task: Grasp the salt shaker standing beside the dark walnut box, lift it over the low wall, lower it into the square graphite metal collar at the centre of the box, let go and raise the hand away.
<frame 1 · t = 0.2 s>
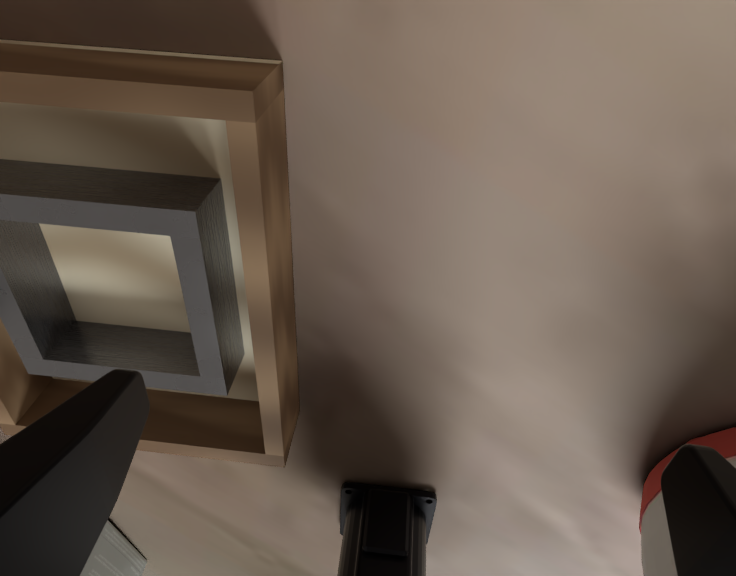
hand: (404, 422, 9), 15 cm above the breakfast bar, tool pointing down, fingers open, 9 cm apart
skincare box: (102, 536, 44), on the breakfast bar
inlet collar: (115, 284, 24), in the walled box
walled box: (135, 261, 26), on the breakfast bar
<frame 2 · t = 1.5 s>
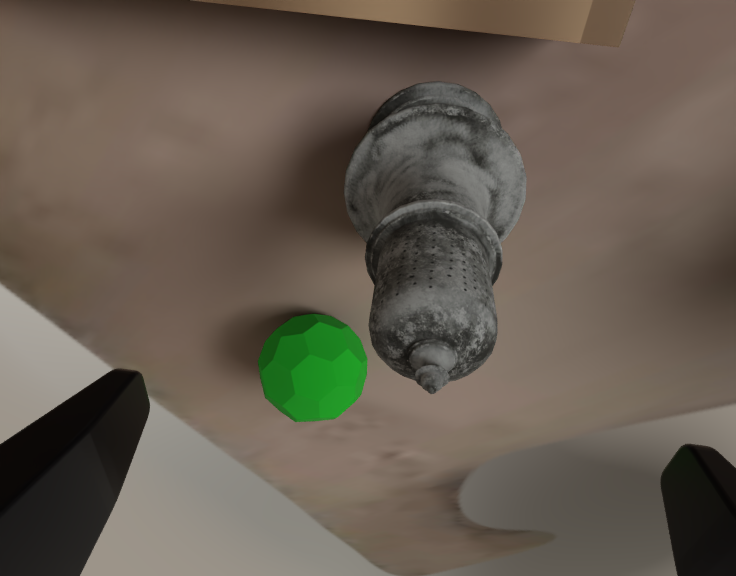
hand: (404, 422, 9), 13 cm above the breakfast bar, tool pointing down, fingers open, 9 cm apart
polyhedron: (323, 331, 26), on the breakfast bar
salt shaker: (433, 151, 20), on the breakfast bar
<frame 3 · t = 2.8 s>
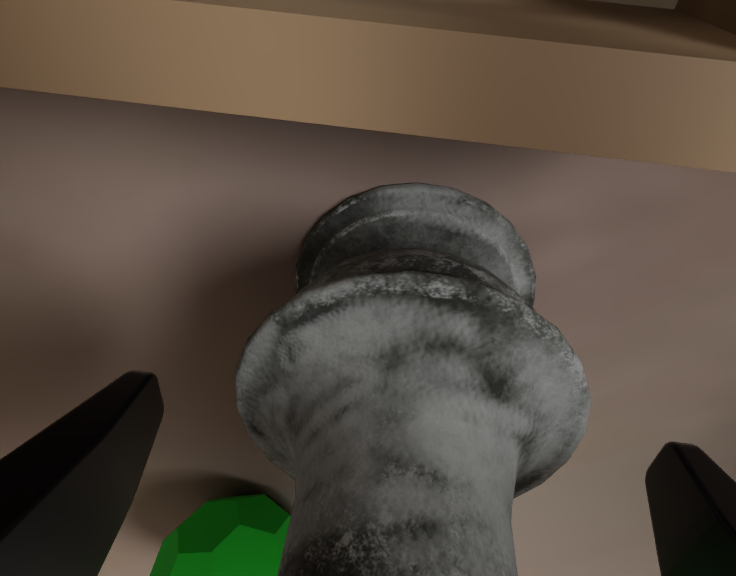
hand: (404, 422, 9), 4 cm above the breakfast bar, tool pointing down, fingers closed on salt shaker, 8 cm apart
polyhedron: (259, 501, 18), on the breakfast bar
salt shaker: (412, 286, 12), on the breakfast bar, touching gripper
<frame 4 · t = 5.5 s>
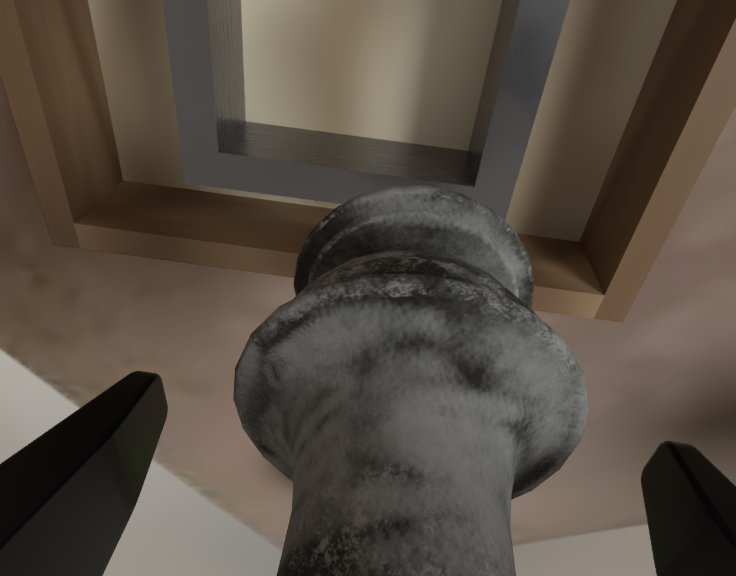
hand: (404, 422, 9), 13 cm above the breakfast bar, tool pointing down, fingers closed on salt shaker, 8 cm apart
inlet collar: (363, 18, 15), in the walled box
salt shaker: (411, 288, 12), point 9 cm above the breakfast bar, touching gripper
walled box: (369, 7, 16), on the breakfast bar
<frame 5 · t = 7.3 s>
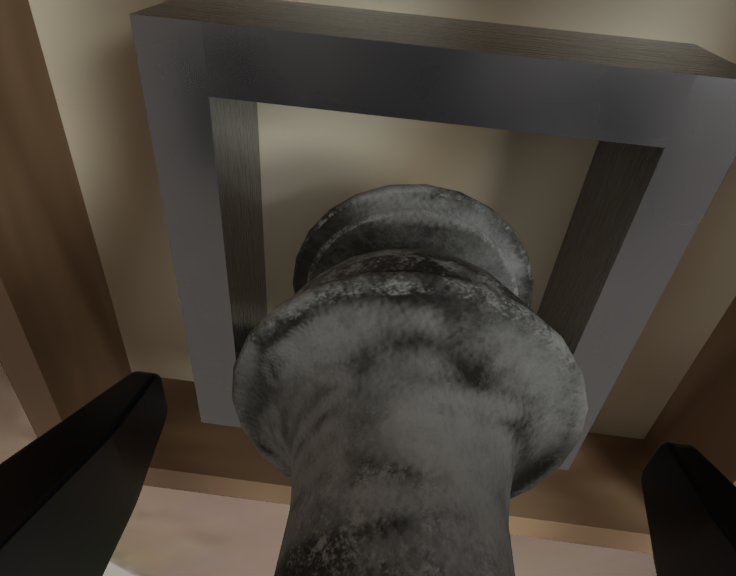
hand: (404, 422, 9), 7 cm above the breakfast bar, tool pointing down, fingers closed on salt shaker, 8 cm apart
inlet collar: (407, 264, 13), in the walled box, point 1 cm above the breakfast bar
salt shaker: (410, 287, 12), point 3 cm above the breakfast bar, touching gripper
walled box: (410, 224, 14), on the breakfast bar
when the fingers open (6 cm above the breakfast bar, at t = 8.4 s): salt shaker drops 2 cm, resting on walled box.
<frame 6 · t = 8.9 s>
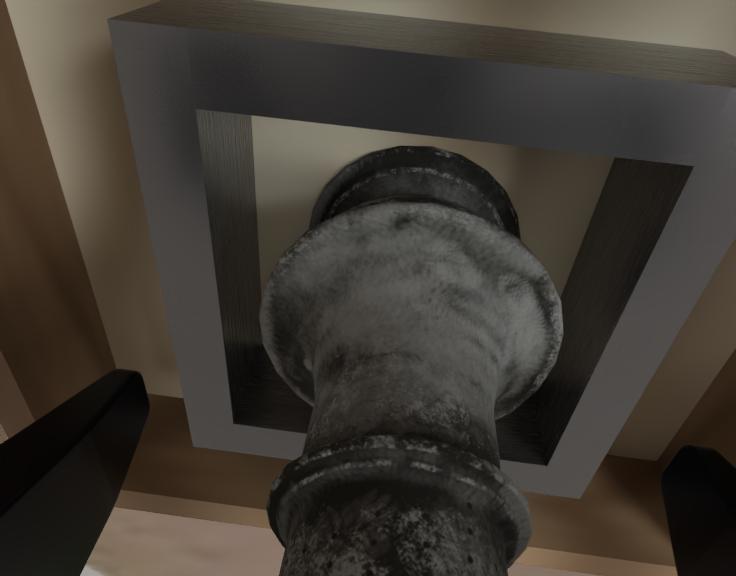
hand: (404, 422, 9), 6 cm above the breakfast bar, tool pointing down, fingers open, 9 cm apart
inlet collar: (411, 283, 12), in the walled box, point 1 cm above the breakfast bar
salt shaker: (412, 243, 13), resting on walled box
walled box: (413, 238, 13), on the breakfast bar
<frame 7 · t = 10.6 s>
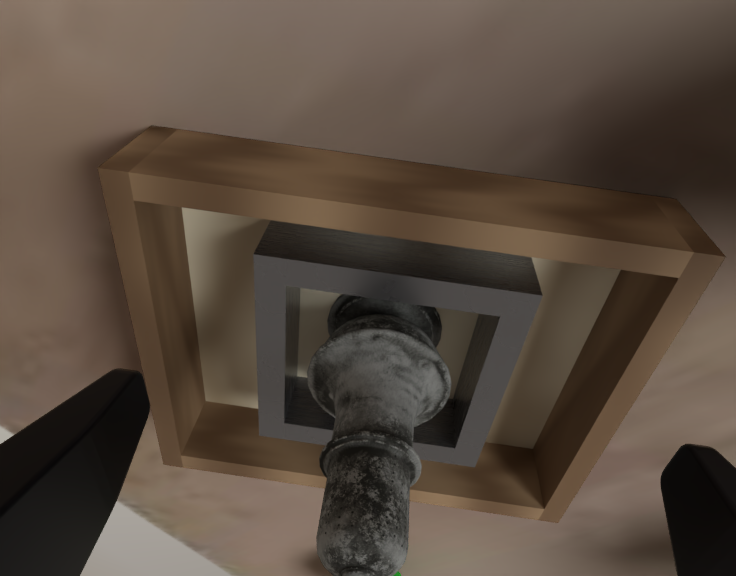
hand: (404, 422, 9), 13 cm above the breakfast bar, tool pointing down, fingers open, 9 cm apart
inlet collar: (382, 351, 23), in the walled box, point 1 cm above the breakfast bar
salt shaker: (384, 325, 24), resting on walled box
walled box: (385, 321, 24), on the breakfast bar
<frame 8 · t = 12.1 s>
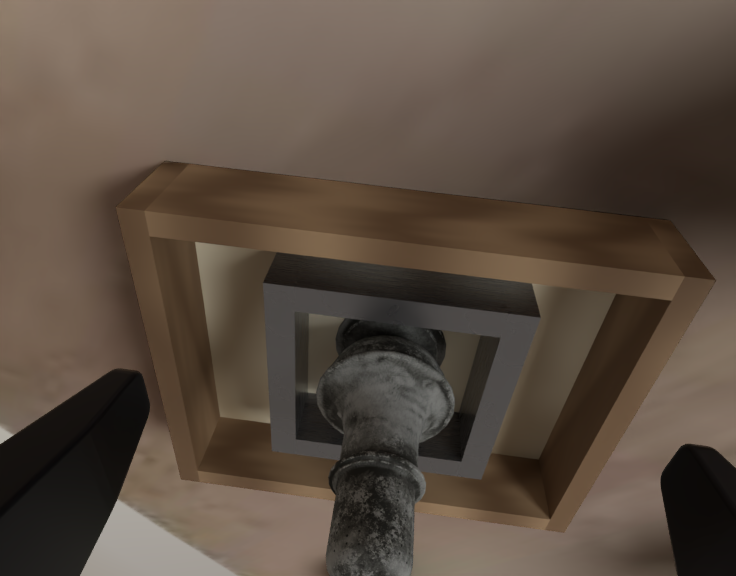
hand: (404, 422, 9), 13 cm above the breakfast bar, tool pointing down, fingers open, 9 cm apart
inlet collar: (388, 369, 23), in the walled box
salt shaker: (390, 343, 25), resting on walled box
walled box: (391, 339, 25), on the breakfast bar
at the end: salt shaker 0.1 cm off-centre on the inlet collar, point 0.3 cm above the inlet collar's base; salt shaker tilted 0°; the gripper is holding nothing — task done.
